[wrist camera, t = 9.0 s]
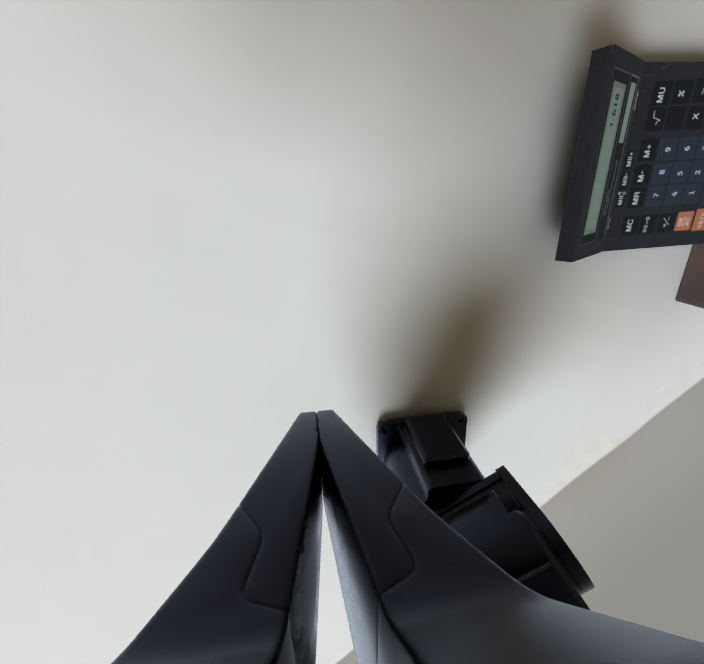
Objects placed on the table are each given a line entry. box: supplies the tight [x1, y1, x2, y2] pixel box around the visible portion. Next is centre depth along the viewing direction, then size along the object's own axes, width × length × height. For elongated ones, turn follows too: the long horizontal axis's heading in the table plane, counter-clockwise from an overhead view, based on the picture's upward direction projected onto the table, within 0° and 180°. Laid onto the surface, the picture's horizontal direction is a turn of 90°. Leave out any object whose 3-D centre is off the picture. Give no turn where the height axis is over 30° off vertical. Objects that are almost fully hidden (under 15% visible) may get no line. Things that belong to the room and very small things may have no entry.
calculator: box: [555, 44, 704, 262], centre depth 18 cm, size 9×12×3 cm
